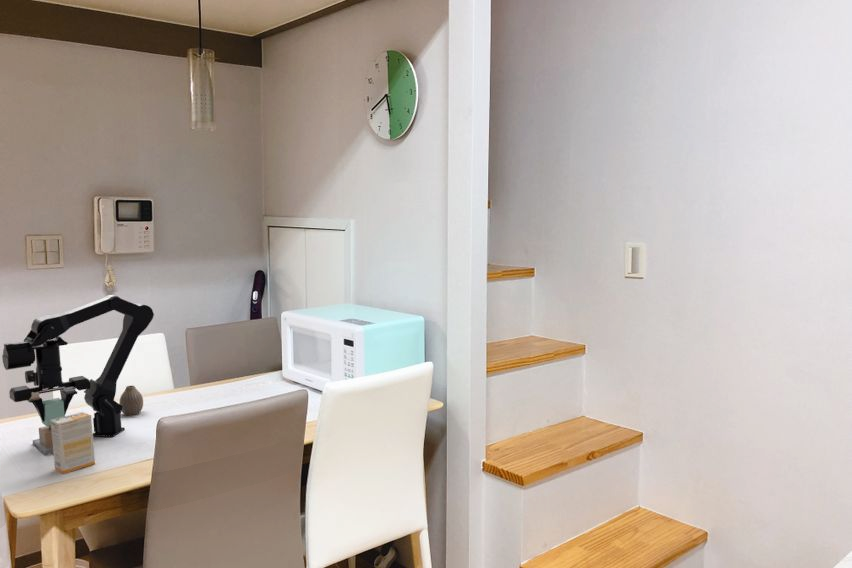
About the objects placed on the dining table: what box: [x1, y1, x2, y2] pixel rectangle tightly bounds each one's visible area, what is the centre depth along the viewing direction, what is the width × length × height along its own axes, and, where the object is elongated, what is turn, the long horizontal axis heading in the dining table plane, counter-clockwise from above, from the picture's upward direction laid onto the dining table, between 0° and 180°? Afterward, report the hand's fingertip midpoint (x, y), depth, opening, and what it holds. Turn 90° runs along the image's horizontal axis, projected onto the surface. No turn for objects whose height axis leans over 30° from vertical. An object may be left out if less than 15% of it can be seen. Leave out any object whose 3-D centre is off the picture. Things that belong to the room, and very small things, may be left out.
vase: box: [118, 385, 144, 416], centre depth 219 cm, size 7×7×9 cm
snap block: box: [41, 397, 66, 427], centre depth 190 cm, size 5×5×6 cm
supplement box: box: [50, 411, 96, 474], centre depth 175 cm, size 8×5×13 cm, turn 141°
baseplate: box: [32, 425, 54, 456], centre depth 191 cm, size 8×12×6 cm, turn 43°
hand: (53, 419), depth 190 cm, fingers closed on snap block, 5 cm apart
